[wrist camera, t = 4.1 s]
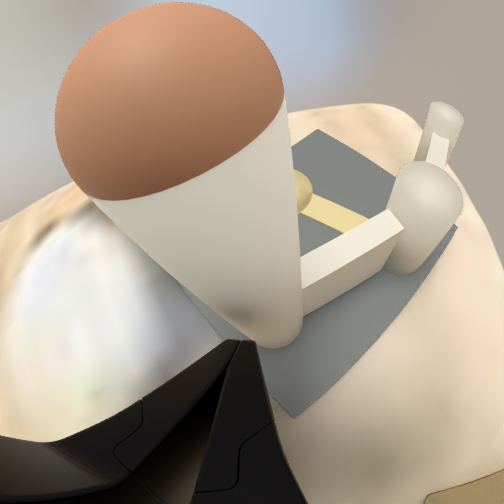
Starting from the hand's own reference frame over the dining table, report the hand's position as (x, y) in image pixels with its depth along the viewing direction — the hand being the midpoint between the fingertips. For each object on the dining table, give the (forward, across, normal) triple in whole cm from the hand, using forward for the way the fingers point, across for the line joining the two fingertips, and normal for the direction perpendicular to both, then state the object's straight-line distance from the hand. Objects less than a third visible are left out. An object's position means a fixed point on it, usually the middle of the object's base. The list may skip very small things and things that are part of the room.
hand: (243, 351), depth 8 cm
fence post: (+7, -2, +2) cm, 8 cm away
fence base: (+13, -9, -1) cm, 16 cm away
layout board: (+11, -2, 0) cm, 12 cm away
